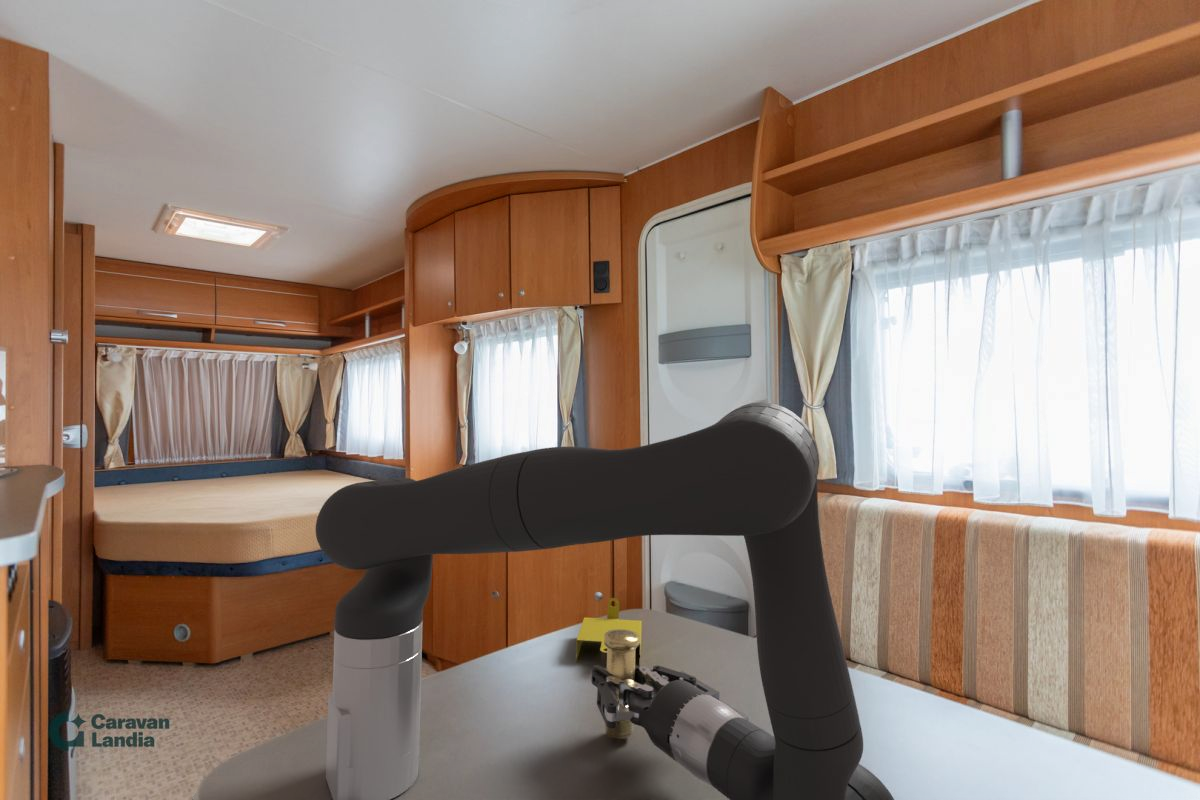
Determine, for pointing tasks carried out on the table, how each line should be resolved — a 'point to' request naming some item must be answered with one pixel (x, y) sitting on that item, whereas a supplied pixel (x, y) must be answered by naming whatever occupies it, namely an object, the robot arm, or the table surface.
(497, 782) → the table surface
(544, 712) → the table surface
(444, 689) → the table surface
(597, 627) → the bracket
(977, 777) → the table surface
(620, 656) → the hinge pin
